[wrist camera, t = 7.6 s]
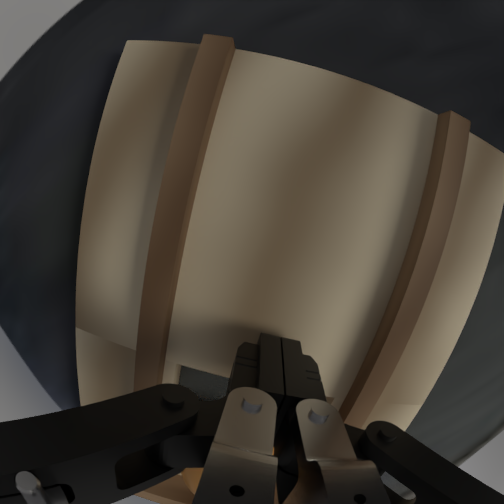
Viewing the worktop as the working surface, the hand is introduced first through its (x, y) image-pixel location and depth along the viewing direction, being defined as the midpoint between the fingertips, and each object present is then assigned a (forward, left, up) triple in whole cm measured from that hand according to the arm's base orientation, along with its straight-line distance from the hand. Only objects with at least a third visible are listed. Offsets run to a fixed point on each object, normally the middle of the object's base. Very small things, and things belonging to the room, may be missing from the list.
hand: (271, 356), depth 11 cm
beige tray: (0, 0, -2) cm, 2 cm away
